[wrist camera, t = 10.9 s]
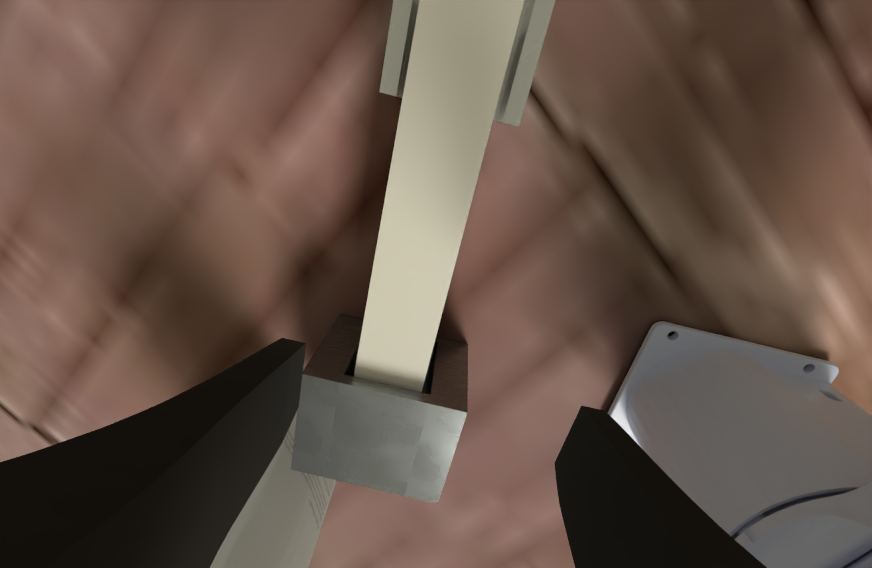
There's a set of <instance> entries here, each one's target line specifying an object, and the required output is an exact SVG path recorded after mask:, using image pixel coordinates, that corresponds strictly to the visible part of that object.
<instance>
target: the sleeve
mask: <svg viewBox="0 0 872 568" xmlns="http://www.w3.org/2000/svg"><path fill="white" fill-rule="evenodd" d="M419 1H420V0H393V6H392V13H391V19H390V26H389V32H388V39H387V45H386V52H385V58H384V65H383V71H382V78H381V84H380V91H379V92H380V93H384V94H388V95H391V96H395V97H399V98H403V92H404V86H405V81H406V75H407V69H408V64H409V58H410V52H411V47H412V41H413V35H414V29H415V24H416V18H417V12H418V7H419ZM554 4H555V0H524V4H523V7H522V11H521V15H520V19H519V23H518V27H517V30H516V34H515V38H514V42H513V46H512V49H511V53H510V57H509V61H508V65H507V68H506V72H505V76H504V80H503V84H502V88H501V91H500V95H499V99H498V103H497V107H496V110H495V114H494V118H493V121H496V122H500V123H504V124H508V125H513V126H518V127H519V125H520V122H521V118H522V115H523V111H524V108H525V104H526V101H527V97H528V94H529V90H530V87H531V84H532V80H533V77H534V73H535V70H536V66H537V63H538V59H539V56H540V52H541V49H542V45H543V42H544V38H545V35H546V32H547V28H548V25H549V21H550V18H551V14H552V11H553V7H554Z"/></svg>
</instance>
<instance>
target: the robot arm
mask: <svg viewBox="0 0 872 568" xmlns="http://www.w3.org/2000/svg"><path fill="white" fill-rule="evenodd" d="M672 331H675V333H674V334H673V335H672V336H668V334H669V333H670V332H672ZM305 346H306V343H302V342H298V341H293V340H289V339H285V338H281V339H279V340H277V341H276V342H274V343H272V344H270V345H269V346H267V347H265V348H263V349H262V350H260V351H258V352H257V353H255V354H253V355H251V356H250V357H248V358H246V359H245V360H243V361H241V362H239V363H238V364H236V365H234V366H232V367H231V368H229V369H227V370H225V371H223V372H222V373H220V374H218V375H216V376H214V377H213V378H211V379H209V380H207V381H205V382H203V383H201V384H199V385H197V386H195V387H193V388H191V389H189V390H187V391H185V392H183V393H181V394H179V395H177V396H175V397H173V398H171V399H169V400H167V401H165V402H162V403H160V404H158V405H156V406H154V407H151V408H149V409H147V410H145V411H142V412H140V413H138V414H135V415H133V416H130V417H128V418H125V419H123V420H121V421H118V422H116V423H113V424H111V425H108V426H106V427H103V428H100V429H98V430H95V431H92V432H89V433H86V434H84V435H81V436H78V437H75V438H72V439H69V440H67V441H64V442H61V443H58V444H55V445H52V446H50V447H47V448H44V449H41V450H38V451H35V452H32V453H29V454H26V455H23V456H20V457H16V458H13V459H10V460H7V461H3V462H0V568H210V566H211V564H212V562H213V560H214V558H215V556H216V554H217V552H218V550H219V549H220V547H221V545H222V543H223V541H224V540H225V538H226V536H227V534H228V532H229V531H230V529H231V527H232V525H233V524H234V522H235V521H236V519H237V517H238V516H239V514H240V512H241V511H242V509H243V507H244V506H245V504H246V502H247V501H248V499H249V497H250V496H251V494H252V493H253V491H254V489H255V488H256V486H257V484H258V483H259V481H260V479H261V478H262V476H263V474H264V473H265V471H266V469H267V468H268V466H269V464H270V463H271V461H272V459H273V458H274V456H275V454H276V453H277V451H278V449H279V448H280V446H281V444H282V443H283V440H284V438H285V436H286V434H287V432H288V430H289V428H290V425H291V423H292V421H293V419H294V416H295V414H296V412H297V410H298V407H299V400H300V391H301V382H302V373H303V364H304V355H305ZM806 365H808V366H807V367H805V366H806ZM804 367H805V368H804ZM838 372H839V368H838V367H837V366H836V365H835V364H833V363H832V362H830V361H827V360H822V359H818V358H814V357H810V356H806V355H802V354H798V353H793V352H789V351H785V350H781V349H777V348H773V347H768V346H764V345H760V344H756V343H752V342H748V341H743V340H739V339H735V338H731V337H727V336H723V335H718V334H714V333H710V332H706V331H702V330H698V329H694V328H689V327H685V326H681V325H677V324H673V323H669V322H664V321H660V322H656V323H655V324H653V325H652V326H651V328H650V330H649V332H648V334H647V336H646V338H645V340H644V342H643V344H642V346H641V348H640V350H639V351H638V353H637V355H636V357H635V359H634V361H633V363H632V365H631V367H630V369H629V371H628V373H627V375H626V377H625V379H624V381H623V383H622V385H621V387H620V389H619V391H618V393H617V395H616V397H615V399H614V401H613V403H612V405H611V407H610V409H609V411H608V413H606V412H605V411H603V410H599V409H594V408H590V407H585V406H581V408H580V410H579V412H578V415H577V417H576V419H575V421H574V423H573V425H572V427H571V429H570V432H569V434H568V436H567V438H566V440H565V442H564V444H563V446H562V449H561V451H560V453H559V455H558V457H557V459H556V461H555V471H556V481H557V489H558V496H559V503H560V508H561V512H562V516H563V520H564V524H565V528H566V532H567V537H568V540H569V544H570V548H571V552H572V556H573V560H574V564H575V568H872V416H871V415H870V414H869V413H867V412H866V411H865V410H863V409H862V408H861V407H859V406H858V405H857V404H855V403H854V402H853V401H851V400H850V399H849V398H847V397H846V396H845V395H843V394H842V393H840V392H839V391H838V390H836V389H835V388H834V387H832V386H831V385H830V384H831V383H832V381H833V380H834V379H835V377H836V376H837V374H838Z"/></svg>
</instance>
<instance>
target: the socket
mask: <svg viewBox="0 0 872 568" xmlns="http://www.w3.org/2000/svg"><path fill="white" fill-rule="evenodd" d="M362 326H363V319H359V318H354V317H350V316H346V315H342V314H340V315H339V317H338V319H337V320H336V322H335V323H334V325H333V326H332V328H331V329H330V331H329V332H328V334H327V335H326V337H325V338H324V340H323V342H322V343H321V345H320V346H319V348H318V349H317V351H316V352H315V354H314V355H313V357H312V358H311V360H310V361H309V363H308V364H307V366H306V368H305V369H304V371H303V373H302V382H301V391H300V400H299V407H298V410H297V418H296V427H295V436H294V445H293V454H292V463H291V470H295V471H299V472H303V473H308V474H312V475H316V476H321V477H325V478H329V479H334V480H338V481H342V482H347V483H351V484H355V485H360V486H364V487H368V488H373V489H377V490H381V491H386V492H390V493H395V494H399V495H403V496H408V497H412V498H416V499H421V500H425V501H429V502H434V503H438V501H439V498H440V495H441V492H442V489H443V486H444V483H445V480H446V477H447V473H448V470H449V467H450V464H451V461H452V458H453V455H454V452H455V449H456V446H457V443H458V440H459V437H460V434H461V431H462V428H463V425H464V421H465V418H466V415H467V391H468V344H464V343H460V342H455V341H451V340H447V339H443V338H439V337H436V339H435V343H434V347H433V351H432V354H431V358H430V362H429V366H428V370H427V373H426V377H425V381H424V385H423V389H422V392H418V391H413V390H409V389H405V388H401V387H396V386H392V385H388V384H384V383H379V382H375V381H371V380H367V379H362V378H358V377H354V372H355V366H356V360H357V355H358V349H359V343H360V338H361V332H362Z"/></svg>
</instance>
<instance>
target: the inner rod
mask: <svg viewBox="0 0 872 568" xmlns="http://www.w3.org/2000/svg"><path fill="white" fill-rule="evenodd" d="M523 4H524V0H420V1H419V7H418V12H417V18H416V24H415V29H414V35H413V41H412V47H411V52H410V58H409V64H408V69H407V75H406V81H405V86H404V92H403V98H402V104H401V109H400V115H399V121H398V126H397V132H396V138H395V144H394V149H393V155H392V161H391V166H390V172H389V178H388V184H387V189H386V195H385V201H384V206H383V212H382V218H381V223H380V229H379V235H378V241H377V246H376V252H375V258H374V263H373V269H372V275H371V281H370V286H369V292H368V298H367V303H366V309H365V315H364V320H363V326H362V332H361V338H360V343H359V349H358V355H357V360H356V366H355V372H354V377H358V378H362V379H367V380H371V381H375V382H379V383H384V384H388V385H392V386H396V387H401V388H405V389H409V390H413V391H418V392H422V389H423V385H424V381H425V377H426V373H427V370H428V366H429V362H430V358H431V354H432V351H433V347H434V343H435V339H436V335H437V331H438V328H439V324H440V320H441V316H442V312H443V309H444V305H445V301H446V297H447V293H448V290H449V286H450V282H451V278H452V274H453V270H454V267H455V263H456V259H457V255H458V251H459V248H460V244H461V240H462V236H463V232H464V229H465V225H466V221H467V217H468V213H469V209H470V206H471V202H472V198H473V194H474V190H475V187H476V183H477V179H478V175H479V171H480V168H481V164H482V160H483V156H484V152H485V149H486V145H487V141H488V137H489V133H490V129H491V126H492V122H493V118H494V114H495V110H496V107H497V103H498V99H499V95H500V91H501V88H502V84H503V80H504V76H505V72H506V68H507V65H508V61H509V57H510V53H511V49H512V46H513V42H514V38H515V34H516V30H517V27H518V23H519V19H520V15H521V11H522V7H523Z"/></svg>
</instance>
